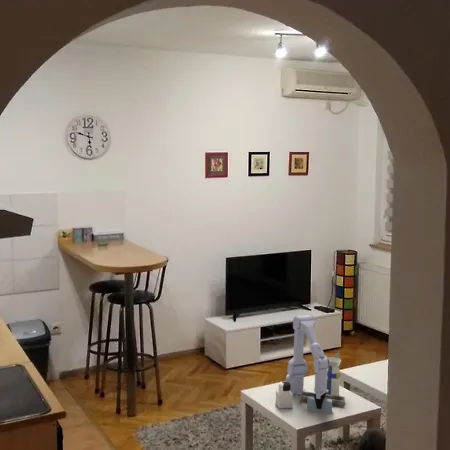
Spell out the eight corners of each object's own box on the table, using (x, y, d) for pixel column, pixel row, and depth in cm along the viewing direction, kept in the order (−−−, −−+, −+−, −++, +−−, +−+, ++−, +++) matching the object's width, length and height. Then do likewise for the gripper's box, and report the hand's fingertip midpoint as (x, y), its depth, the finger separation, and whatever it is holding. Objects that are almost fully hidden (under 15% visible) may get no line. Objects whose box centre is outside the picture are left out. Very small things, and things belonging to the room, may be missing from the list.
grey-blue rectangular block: (307, 410, 305) (307, 398, 304) (307, 407, 308) (308, 396, 307) (331, 413, 301) (331, 401, 301) (331, 411, 304) (332, 399, 304)
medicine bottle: (288, 402, 314) (289, 379, 312) (292, 408, 307) (293, 385, 305) (275, 402, 312) (276, 380, 311) (278, 408, 305) (279, 385, 304)
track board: (299, 401, 314) (300, 396, 314) (302, 396, 322) (302, 390, 322) (343, 407, 308) (343, 402, 308) (344, 401, 316) (344, 396, 315)
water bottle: (343, 394, 325) (345, 349, 322) (334, 399, 319) (336, 352, 316) (330, 390, 331) (332, 345, 328) (321, 394, 325) (323, 349, 322)
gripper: (326, 387, 295) (325, 414, 296) (330, 377, 309) (329, 402, 310) (312, 385, 297) (311, 412, 298) (316, 375, 311) (315, 400, 312)
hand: (319, 407), depth 304 cm, fingers open, 3 cm apart
